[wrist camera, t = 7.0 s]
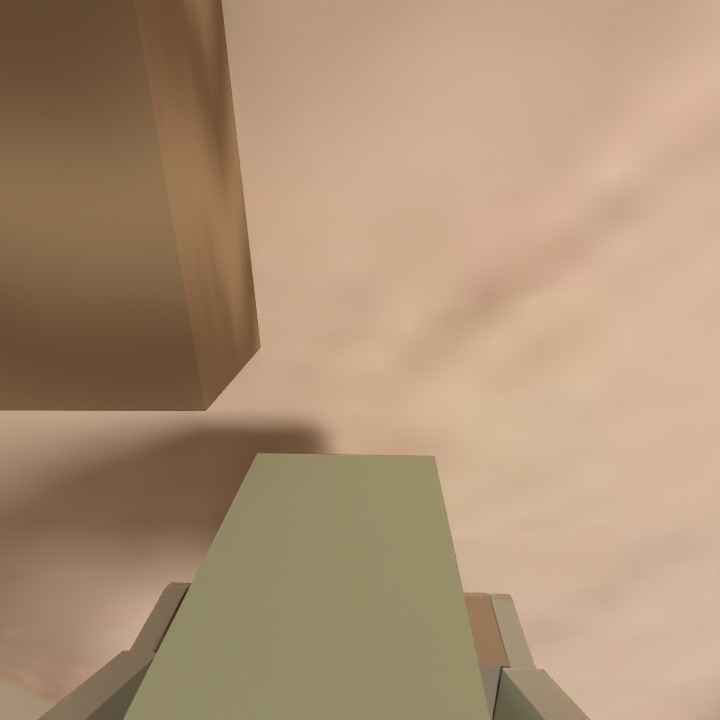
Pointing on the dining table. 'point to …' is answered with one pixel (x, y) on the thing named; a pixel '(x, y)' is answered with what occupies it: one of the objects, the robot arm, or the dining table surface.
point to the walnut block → (120, 208)
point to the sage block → (323, 602)
